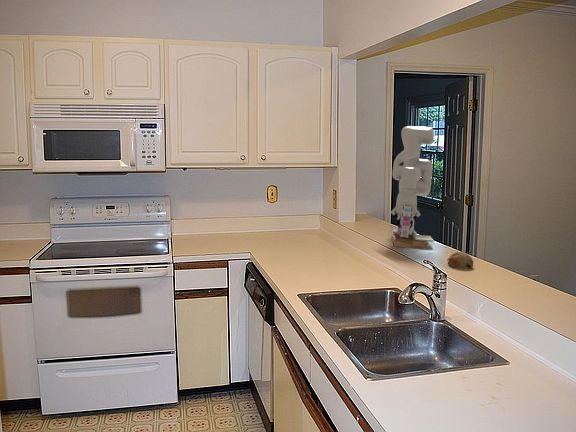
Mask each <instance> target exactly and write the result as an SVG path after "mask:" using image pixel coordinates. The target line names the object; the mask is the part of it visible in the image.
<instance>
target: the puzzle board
mask: <svg viewBox="0 0 576 432" xmlns="http://www.w3.org/2000/svg"><path fill="white" fill-rule="evenodd" d="M391 242H392V245H393V244H394V245H393V246H394V247H398V246H401V247H400V248H411V249H423V250H424V249H425V250H428V246H429V242H427V241H421V240H414V238H413V237H412V235H409V238H400V237H399V235H398V233H392V234H391Z"/></svg>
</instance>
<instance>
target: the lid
mask: <svg viewBox="0 0 576 432" xmlns="http://www.w3.org/2000/svg"><path fill="white" fill-rule="evenodd" d="M412 237H413V238H414V240H421V241H427V242H428V243H434V242H435V240H434V239H433V238H432V236H431V235H425V234H422V235H421V234H417V231H416V230H415V229H413V230H412Z"/></svg>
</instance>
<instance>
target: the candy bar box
mask: <svg viewBox="0 0 576 432" xmlns="http://www.w3.org/2000/svg"><path fill="white" fill-rule="evenodd" d="M412 207H413V206H412V205H402V212H401V216H400V228H398V233H397V234H398V235H399V237H400V238H409V235H410V226H411V216H412Z"/></svg>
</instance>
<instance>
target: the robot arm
mask: <svg viewBox="0 0 576 432" xmlns="http://www.w3.org/2000/svg"><path fill="white" fill-rule="evenodd" d="M400 134H401V140H402V144H403V150H402V151H401V152H400V153H398V154H397V155H396V157H395V159H394V161H393V167H392V178H393V179H394V180H396V181H398V194H397V196H396V203H395V207H394V208H393V209H392V210H391V211H390V213H391V215H393V216H394V217H395V219H396V227H395V228H394V229H393V231H392V232H393V233H394V234H398V228H400V216H401V212H402V205H412V206H413V207H412V216H411V226H410V235H412V230H414V226H415V220H416V219H417V218H419V217H420V216H422V215H421V213H420V211H419V210H418V196H422V197H423V196H424V197H425V196H429V195H430V194H431V193H430V192H431V187H432V178H433V163H432V161H431V160H430V159H425V158H420V157H421V156H420V155H421V149H422V148H421V147H422V145H428V146H429V145H432V144H433V143H434V142H433V141H434V138H435V131H434V129H433V127H431V126H430V127H429V126H413V125H412V126H411V125H409V126H408V125H407V126H404V127H403V128H402V129H401V133H400ZM401 164H403V165H401ZM421 177H422V178H421Z"/></svg>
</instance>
